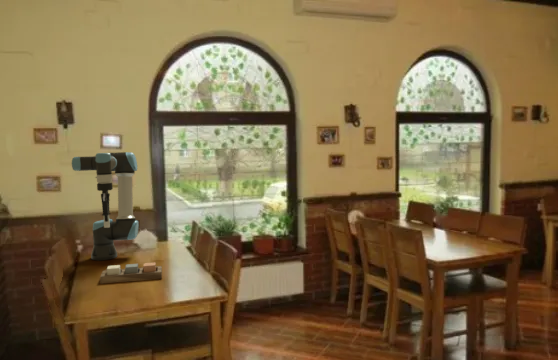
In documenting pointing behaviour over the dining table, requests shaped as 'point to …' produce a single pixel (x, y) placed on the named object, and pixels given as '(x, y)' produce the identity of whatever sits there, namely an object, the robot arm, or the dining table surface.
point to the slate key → (131, 268)
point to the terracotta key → (149, 267)
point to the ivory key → (113, 270)
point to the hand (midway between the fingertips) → (106, 227)
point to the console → (131, 276)
